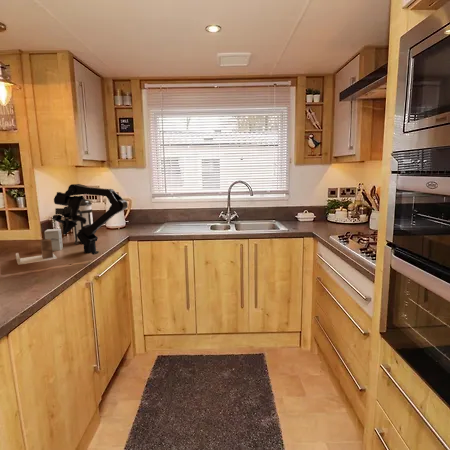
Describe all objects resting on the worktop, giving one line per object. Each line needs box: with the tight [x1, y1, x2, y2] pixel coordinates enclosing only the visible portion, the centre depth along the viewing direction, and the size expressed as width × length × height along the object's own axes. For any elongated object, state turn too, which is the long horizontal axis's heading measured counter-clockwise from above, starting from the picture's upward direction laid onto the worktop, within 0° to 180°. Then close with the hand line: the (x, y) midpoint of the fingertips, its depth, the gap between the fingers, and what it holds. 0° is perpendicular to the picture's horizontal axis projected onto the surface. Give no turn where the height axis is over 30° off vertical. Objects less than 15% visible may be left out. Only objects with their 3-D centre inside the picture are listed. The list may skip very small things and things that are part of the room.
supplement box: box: [44, 228, 64, 252], centre depth 183 cm, size 7×7×13 cm
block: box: [39, 238, 54, 259], centre depth 166 cm, size 4×4×9 cm
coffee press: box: [72, 198, 94, 245], centre depth 203 cm, size 17×16×30 cm
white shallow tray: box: [15, 252, 58, 265], centre depth 164 cm, size 17×13×4 cm
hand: (64, 234), depth 167 cm, fingers closed
